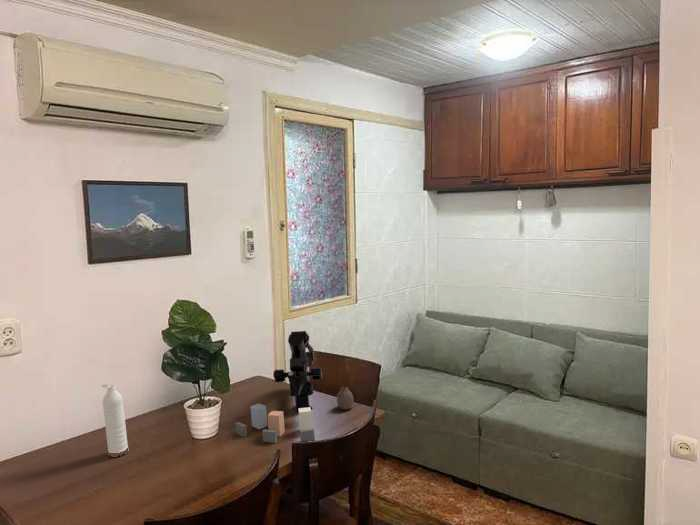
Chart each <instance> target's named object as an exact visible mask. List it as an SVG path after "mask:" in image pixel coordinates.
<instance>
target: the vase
mask: <svg viewBox="0 0 700 525" xmlns="http://www.w3.org/2000/svg"><path fill="white" fill-rule="evenodd" d="M336 403H337V407H339V409H340V410H343V411H344V410H345V411H347V410H350V409H352V407H353V405H354V395H353V393H352V392H351V390H350V389H349V388H348V386H342V387H341V388H340V390H339V392H338V393H337V396H336Z"/></svg>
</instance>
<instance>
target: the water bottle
mask: <svg viewBox="0 0 700 525" xmlns="http://www.w3.org/2000/svg"><path fill="white" fill-rule="evenodd" d="M110 384H111V383H110V382H104V383H102V384H101V386H102V388H107V389H106V390H107V391H106V393H105V395H104V397H103V399H102V407H103V409H102V410H103V414H104V416H103V417H104V425H105V427H104V428H105V434H106V442H107V453H108V452H109V453H120V452H123V451H125V450H126V449H127V448H128V449H129V444H128V437H127V436H128V435H127V427H126V426H127V425H126V418H125V409H124V398H123V396H122V394H121V393H120V392H119V391H118V390H117V389H116V385H114V384H112V385H110Z"/></svg>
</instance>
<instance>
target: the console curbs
mask: <svg viewBox="0 0 700 525" xmlns="http://www.w3.org/2000/svg"><path fill="white" fill-rule="evenodd" d="M234 426H235V434H236V435H238V436H240V437H243V438H245V437H247V436H248V429H247V425H246V424H244V423H242V422H239V421H237V422H235V423H234ZM261 432H262V435H261V436H262V442H263V443H274V444H276V443H277V442H278V436H277V430H269V429H265V428H263V429H262V431H261ZM299 437H300V442H301V441H309V442H312V441H311V440H315V438H316V437H315V428H314V427H312V429H305V430H300V429H299ZM315 441H316V440H315Z"/></svg>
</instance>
